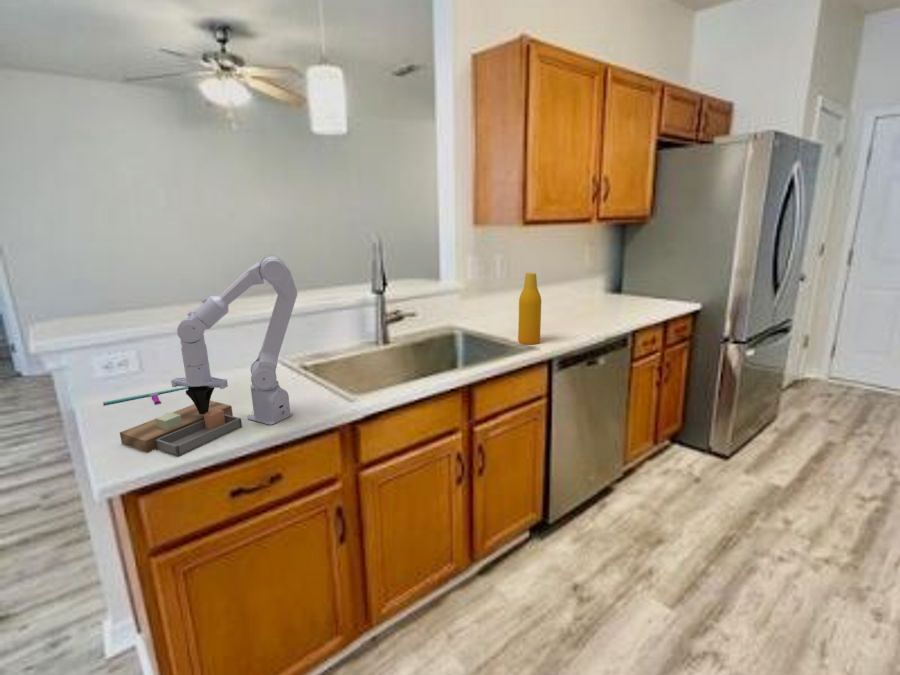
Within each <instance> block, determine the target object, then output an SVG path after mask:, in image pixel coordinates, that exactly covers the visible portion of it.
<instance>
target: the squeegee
mask: <svg viewBox="0 0 900 675" xmlns="http://www.w3.org/2000/svg"><path fill="white" fill-rule="evenodd" d="M188 388H189V387H184V386H181V387H175V388H172V389H167V390H166V389H165V390H161V391H155V392H150V393H149V392H148V393H145V394H139V395H134V396H130V397H124V398H118V399H113V400H109V401H108V400H107V401H103V402H102V404H103V406H109V405H114V404H118V403H122V402H126V401H127V402H129V401H133V400H137V399H141V398H147V397H148V398H151V400H152V401H153V404H154V405H159V404H162V402H161V400H160V399H159V396H160V395H161V394H167V393H171V392H176V391H181V390H188Z"/></svg>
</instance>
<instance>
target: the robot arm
mask: <svg viewBox="0 0 900 675" xmlns="http://www.w3.org/2000/svg"><path fill="white" fill-rule="evenodd" d="M264 280H265V281H266V282H267V283H268V284H270V285H271V286H272V288H273V289H274V290H275V293H276V294H277V296H276V299H275V303H274V307H273V310H272V313H271V316H270V319H269V321H268V322H269V323H268V326H267V329H266V332H265V336H264V339H263V342H262V345H261V349H260V351H259V352H258V356H257V358H256V359H255V361H253V362H252V364H251V365H250V374H251V377H250V382H251V385H250V393H251V402H252V409H253V414H251V415H249V416H247V417H246V418H247V420H250V421H254V422H259V423H261V424H266V425H270V426H273V425H274V424H277V423H278V422H281V421H283V420H285V419H286V418H289V417H291V416H293V414H294V413H293V412H291V406H290V405H291V404H290V399H289V398H290V397H289V393H288V392H287V390H286V389H284V388H282V387H281V385H280V382H279V381H278V380H277V377H278V376H277V372H276V371H277V367H278V361H279V356H280V352H281V349H282V345H283V342H284V339H285V335H286V333H287V330H288V327H289V323H290V319H291V316H292V314H293V310H294V306H295V303H296V301H297V298H298V290H297V287H296V284H295V282H294V278H293V275H292V272H291V270H290V268H289V267H288V266H287V265H286V263H285V262H284V261H283V260H282V259H281V257H278V256H277V255H272V254H271V255H266V256H264V257H263V258H262V259H261V261H260V262H259V261H257V262H256V263H255V264H253V265H252V266H250V267H249V268H248V269H246V270H245V271H244V272H243V273H242V274H241V275H240V276H238V278H236V280H235V281H234V282H233V283H230V285H229V286H228V287H227V288H226V289H224V291H222V293H220V294H219V295H210V296H209V297H204V298H202V300H201V304H200V305H198V307H196V308H195V309H194V310H193V311H190V310H189V312H188V313H187V316H186V317H184V318H182V320H181V321H179V324H178V326H177V328H176V333H177V336H178V338H179V339H180V346H181V347H180V348H181V349H180V350H181V356H182V362H183V367H184V374H185V377H174V378H172V379H170V382H171V383H170V384H171V387H172V388H178V387H189V388H187V389H185V395H187V396H188V397H189V399H191V401H192V403H193V405H194V404H195V406H196V408H197V410H198V412H199V414H205V413H207V412H208V411H209V403H210V401H211V398H212V394H213V392H214V390H215V389H216V388H217V389H218V388H219V389H220V390H224V389H225V388H229V384H228V379H226V378H218V377H214V376H212V375H211V370H210V362H209V356H208V348H207V345H206V341H205V340H206V339H205V335H204V334H205V331H206V330H211V328H212V327H213V326H214V325H216V324H217V323H218V322H219V321H220V320H222V318H224V317H225V316H226V315H227V314H228V313H229V305H230V304H231V303H233V302H234V301H235V300H237V299H238V298H239V297H240V296H241V295H243V294H244V293H245V292H246V291H247V290H248V289H250V288H251V287H252V286H255V285H263V284H264V283H265V282H264Z"/></svg>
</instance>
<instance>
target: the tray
mask: <svg viewBox="0 0 900 675" xmlns="http://www.w3.org/2000/svg"><path fill="white" fill-rule="evenodd" d="M224 418H225V424H224V425H222V426H220V427H218V428H215V429H213V430H209V429H206V426H205V420H201V421H199V422H197V423H194V424H192V425H189V426H187V427H185V428H182V429H180V430H177V431H175V432H173V433H170V434H168V435H165V436H163V437H161V438H158V439H156V440H155V444H156V449H155V450H157V451H159V452H163V453H166V454H168V455H172V456H175V457H177V458H179V457H180V456H183V455H185V454H186V453H189V452H191V451H194V450H196V449H198V448H200V447H202V446H205V445H206V444H208V443H212V442H213V441H215V440H217V439H219V438H221V437H224V436H227V435H228V434H230V433H233V432H235V431H236V430H238V429H241V428H242V427H243V423H242V418H241V417H238V416H230V415H226V414H224Z"/></svg>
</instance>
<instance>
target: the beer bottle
mask: <svg viewBox="0 0 900 675" xmlns="http://www.w3.org/2000/svg"><path fill="white" fill-rule="evenodd" d="M537 279H538V278H537V273H536V272H526V273H525V276H524V284H523V289H522V291H521V293H520V295H519V298H518V332H517V333H518V335H517V340H518V343H520V344H521V345H529V346H530V345H531V346H532V345H533V346H534V345H537V344H540V343H541V324H542V323H541V322H542V321H541V319H542V296H541V294H540V292H539V289H538V280H537Z"/></svg>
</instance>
